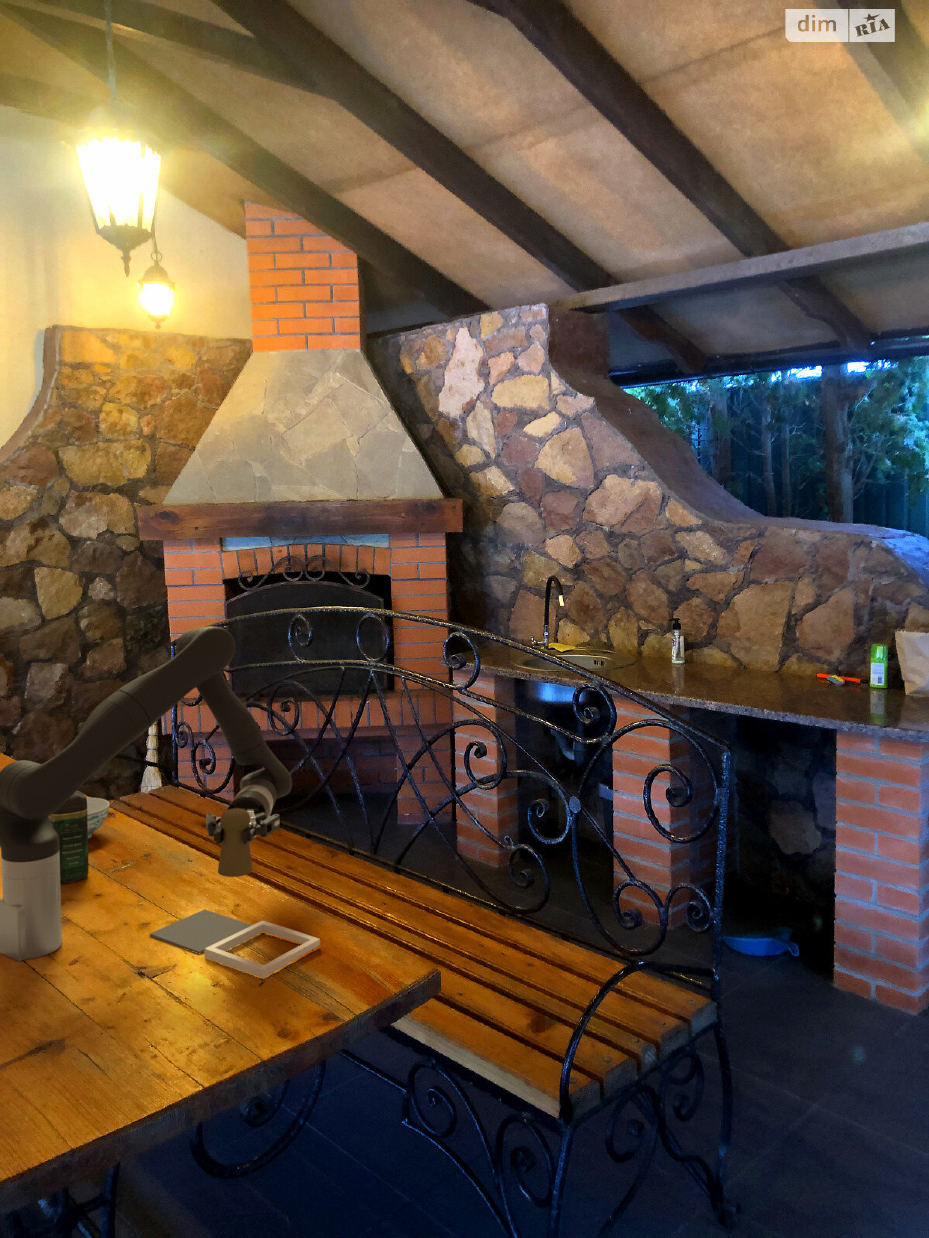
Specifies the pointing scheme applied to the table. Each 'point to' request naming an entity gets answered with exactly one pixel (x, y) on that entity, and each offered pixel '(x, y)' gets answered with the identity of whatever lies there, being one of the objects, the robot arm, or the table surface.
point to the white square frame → (219, 949)
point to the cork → (234, 844)
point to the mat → (199, 930)
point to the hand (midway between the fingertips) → (231, 838)
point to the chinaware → (96, 813)
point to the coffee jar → (72, 837)
